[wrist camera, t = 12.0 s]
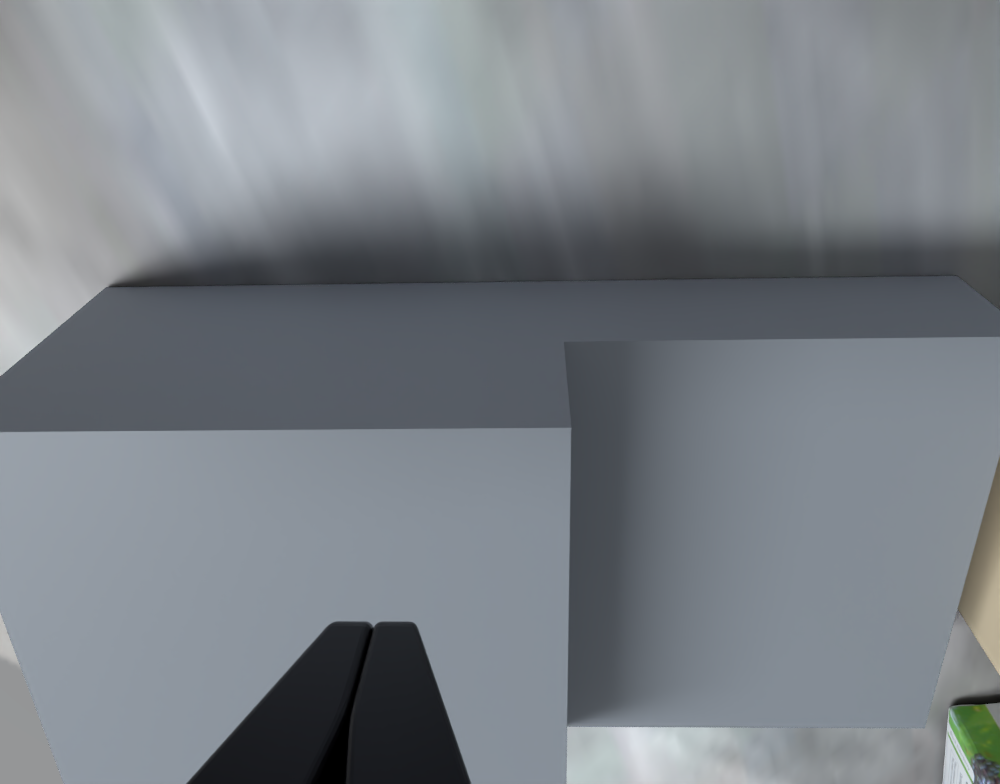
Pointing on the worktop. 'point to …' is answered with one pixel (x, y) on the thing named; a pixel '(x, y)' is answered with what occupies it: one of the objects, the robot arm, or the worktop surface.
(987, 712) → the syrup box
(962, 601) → the maple cube
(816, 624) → the slate stair
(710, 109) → the worktop surface
